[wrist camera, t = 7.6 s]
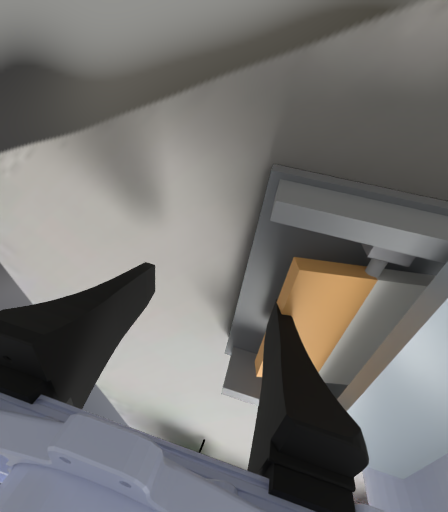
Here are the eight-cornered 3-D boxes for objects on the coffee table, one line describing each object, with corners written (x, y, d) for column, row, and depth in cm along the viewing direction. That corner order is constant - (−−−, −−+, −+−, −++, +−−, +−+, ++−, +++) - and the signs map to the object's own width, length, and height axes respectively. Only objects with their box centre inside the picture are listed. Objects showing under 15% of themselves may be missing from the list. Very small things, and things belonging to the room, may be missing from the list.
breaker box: (544, 222, 11) (679, 284, 7) (385, 386, 19) (410, 460, 15) (273, 163, 13) (264, 189, 9) (228, 338, 20) (213, 393, 16)
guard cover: (640, 289, 7) (684, 312, 6) (397, 458, 15) (403, 479, 14) (459, 246, 8) (479, 262, 7) (312, 429, 15) (313, 448, 14)
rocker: (446, 262, 11) (464, 275, 10) (354, 378, 16) (360, 393, 16) (299, 241, 11) (305, 253, 10) (251, 368, 16) (253, 383, 15)
